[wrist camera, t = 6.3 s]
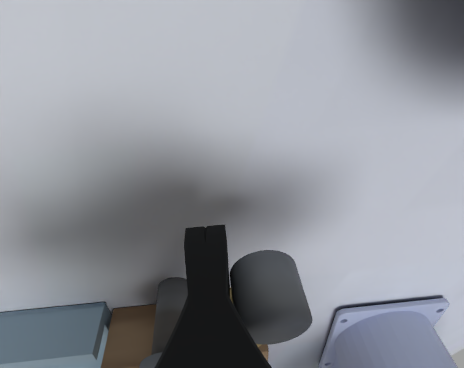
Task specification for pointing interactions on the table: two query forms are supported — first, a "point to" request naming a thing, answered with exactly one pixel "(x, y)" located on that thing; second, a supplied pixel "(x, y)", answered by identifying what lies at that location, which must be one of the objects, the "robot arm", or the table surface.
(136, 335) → the block
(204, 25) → the table surface
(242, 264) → the lever
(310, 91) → the table surface
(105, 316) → the shallow square tray
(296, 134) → the table surface
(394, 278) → the table surface
